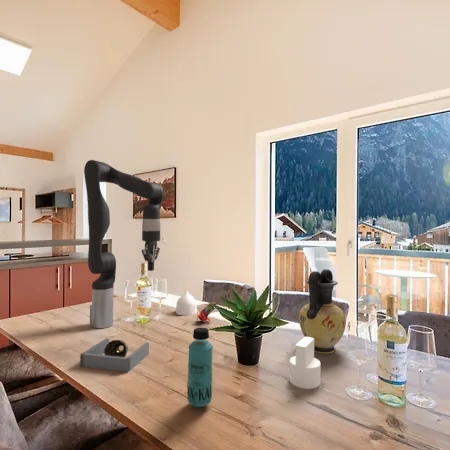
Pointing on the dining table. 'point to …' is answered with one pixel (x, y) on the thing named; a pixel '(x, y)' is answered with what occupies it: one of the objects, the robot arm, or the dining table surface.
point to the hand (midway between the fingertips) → (150, 270)
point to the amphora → (322, 313)
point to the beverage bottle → (200, 369)
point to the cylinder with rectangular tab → (305, 365)
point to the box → (112, 358)
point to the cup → (116, 348)
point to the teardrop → (186, 305)
